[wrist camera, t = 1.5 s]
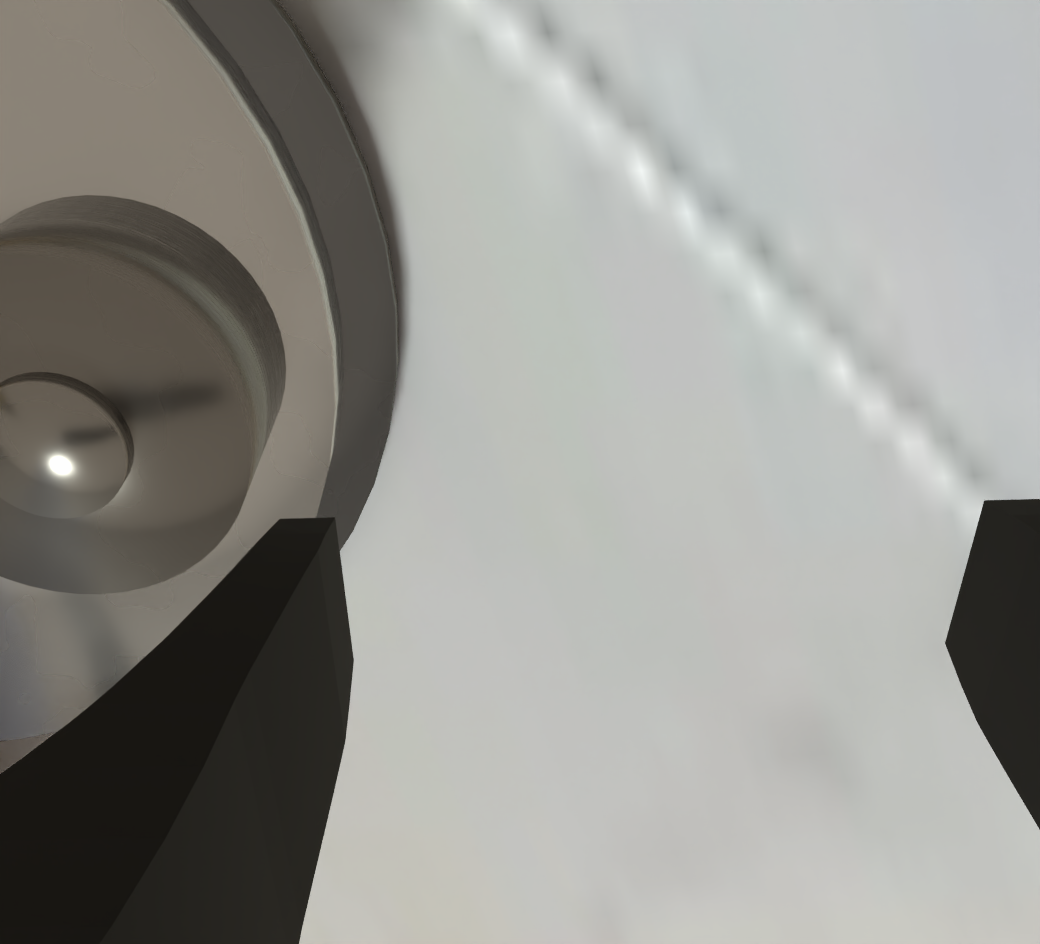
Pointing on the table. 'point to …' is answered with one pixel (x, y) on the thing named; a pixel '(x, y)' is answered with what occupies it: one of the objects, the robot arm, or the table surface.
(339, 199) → the turntable base
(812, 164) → the table surface
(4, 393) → the cover
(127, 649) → the turntable
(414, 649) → the table surface
